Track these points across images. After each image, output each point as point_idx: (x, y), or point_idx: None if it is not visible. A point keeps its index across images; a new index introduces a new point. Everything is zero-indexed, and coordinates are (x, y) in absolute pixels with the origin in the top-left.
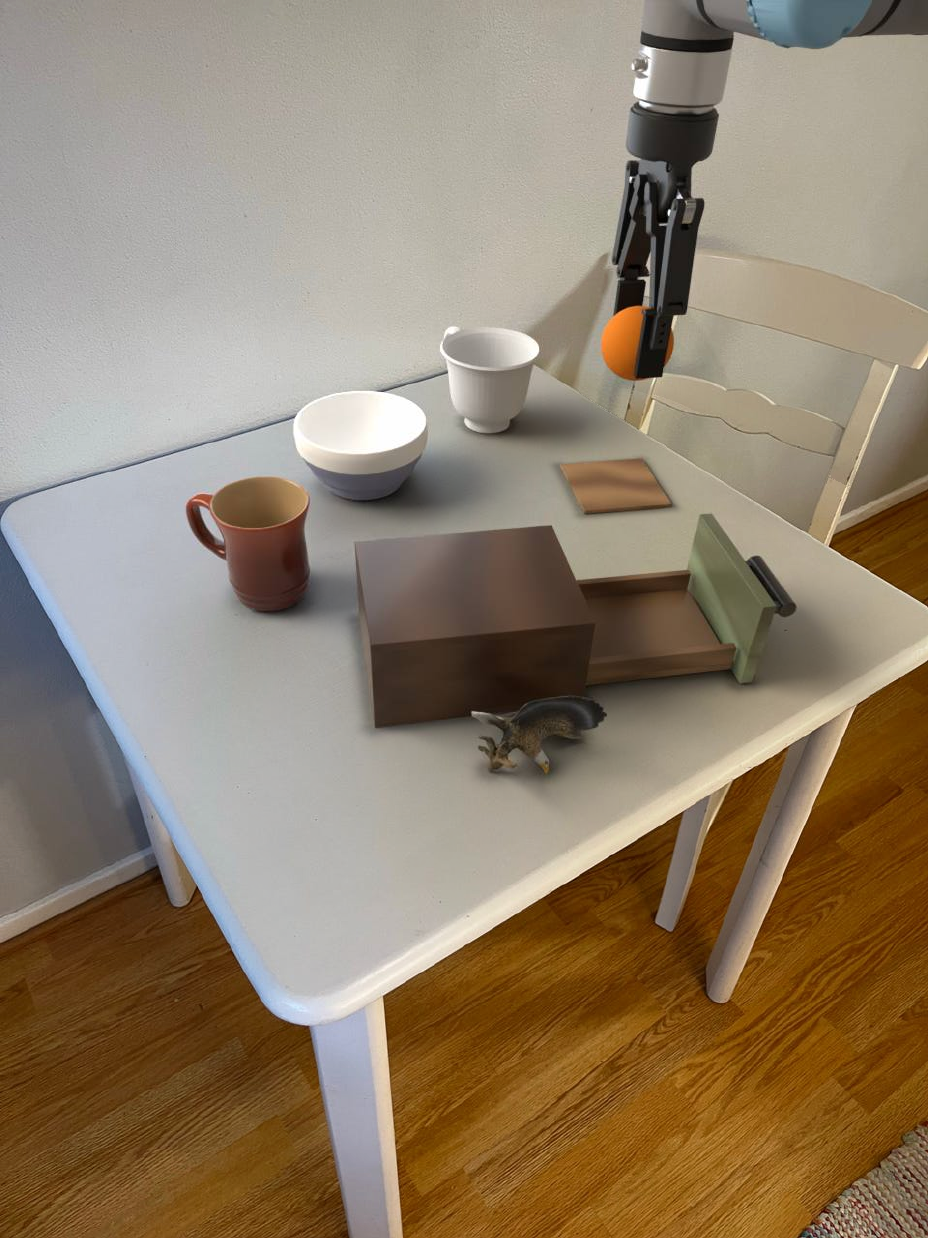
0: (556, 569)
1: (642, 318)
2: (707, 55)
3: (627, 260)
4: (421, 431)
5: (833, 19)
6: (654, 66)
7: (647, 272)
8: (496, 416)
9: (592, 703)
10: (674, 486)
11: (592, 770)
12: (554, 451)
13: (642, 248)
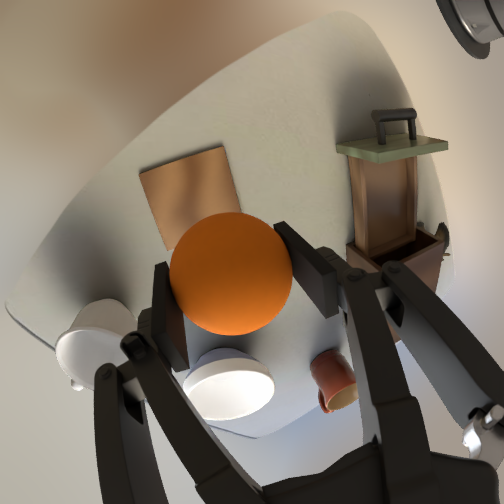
0: (414, 264)
1: (274, 303)
2: None
3: (189, 400)
4: (240, 371)
5: None
6: None
7: (139, 340)
8: (135, 319)
9: (447, 231)
10: (183, 140)
11: (431, 216)
12: (140, 257)
13: (193, 409)
